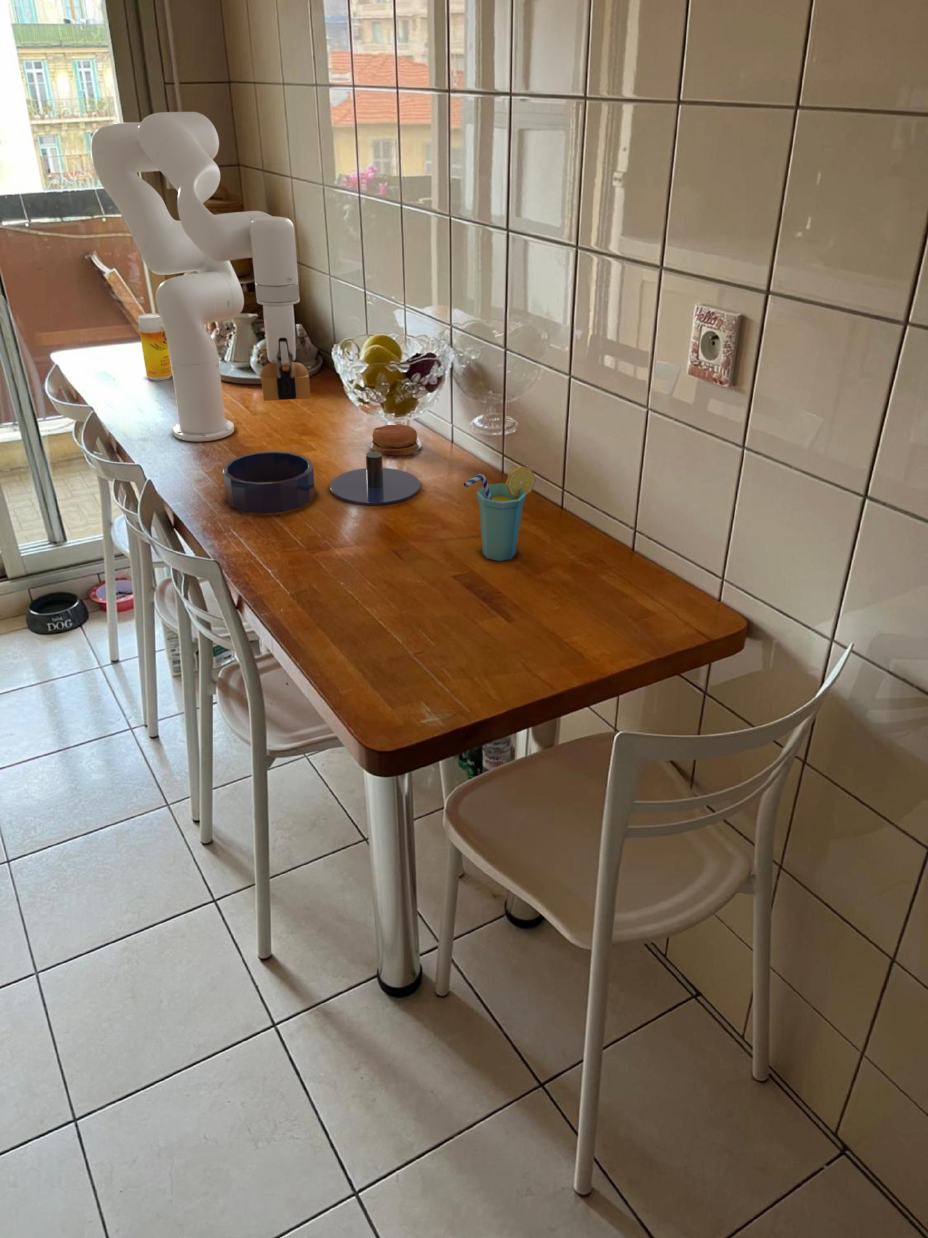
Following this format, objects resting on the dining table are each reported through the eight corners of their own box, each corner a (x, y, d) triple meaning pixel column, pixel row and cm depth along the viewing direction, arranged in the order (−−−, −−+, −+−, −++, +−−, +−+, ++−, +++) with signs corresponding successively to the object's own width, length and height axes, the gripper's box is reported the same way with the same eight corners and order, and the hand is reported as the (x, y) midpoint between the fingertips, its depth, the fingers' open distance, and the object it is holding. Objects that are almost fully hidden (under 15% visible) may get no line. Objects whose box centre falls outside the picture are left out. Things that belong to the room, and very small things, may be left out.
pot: (226, 484, 171) (222, 454, 168) (310, 478, 175) (308, 448, 171) (227, 519, 158) (223, 486, 155) (318, 512, 162) (316, 480, 158)
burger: (423, 455, 186) (423, 433, 184) (379, 460, 183) (378, 438, 181) (410, 439, 194) (409, 418, 192) (367, 444, 191) (366, 422, 189)
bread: (263, 400, 169) (259, 368, 166) (261, 391, 174) (258, 360, 170) (311, 398, 171) (309, 366, 168) (308, 389, 175) (306, 357, 172)
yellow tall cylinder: (168, 381, 227) (159, 318, 219) (143, 380, 227) (133, 318, 219) (175, 374, 232) (166, 312, 224) (151, 373, 232) (141, 312, 224)
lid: (325, 476, 176) (323, 441, 172) (411, 470, 179) (410, 436, 175) (335, 512, 162) (333, 474, 158) (428, 504, 165) (427, 467, 162)
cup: (480, 577, 142) (483, 486, 134) (446, 559, 147) (447, 471, 139) (542, 550, 150) (548, 463, 142) (508, 534, 155) (512, 450, 147)
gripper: (254, 284, 169) (263, 381, 178) (257, 304, 155) (268, 409, 164) (295, 282, 171) (303, 379, 180) (302, 302, 156) (310, 406, 166)
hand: (286, 392), depth 172 cm, fingers closed on bread, 5 cm apart
